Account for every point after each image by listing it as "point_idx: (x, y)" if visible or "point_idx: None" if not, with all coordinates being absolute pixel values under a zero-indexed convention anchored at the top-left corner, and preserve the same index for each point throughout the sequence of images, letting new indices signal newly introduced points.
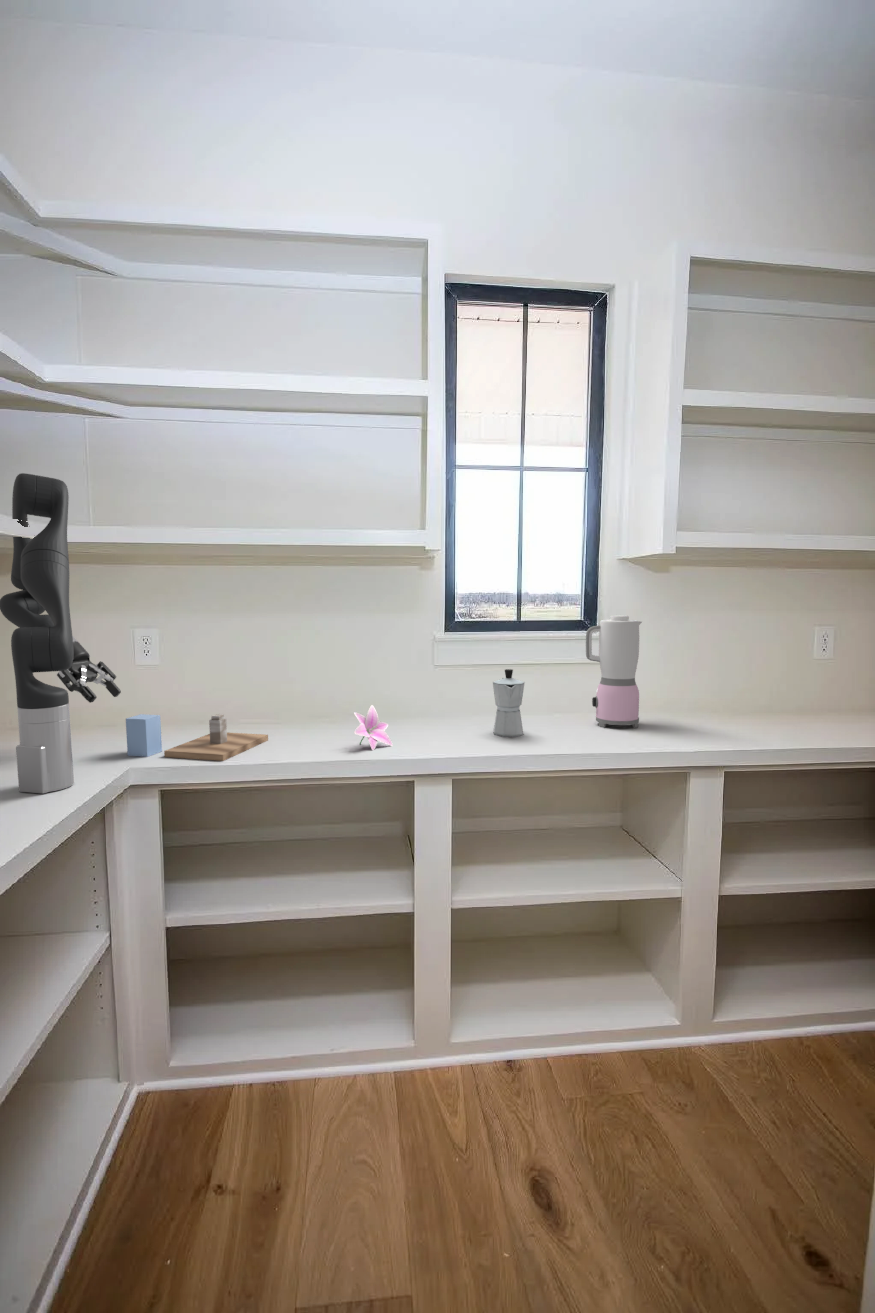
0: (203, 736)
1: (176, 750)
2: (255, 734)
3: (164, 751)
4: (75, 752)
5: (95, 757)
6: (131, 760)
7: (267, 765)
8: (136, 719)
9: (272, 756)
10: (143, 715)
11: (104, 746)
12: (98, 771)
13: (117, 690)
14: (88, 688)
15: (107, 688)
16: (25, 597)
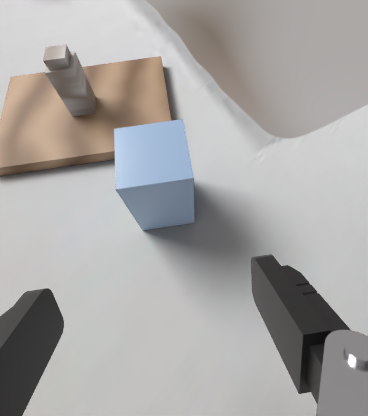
0: (39, 159)
1: None
2: (10, 93)
3: None
4: (227, 393)
5: (239, 280)
6: (221, 185)
7: (161, 19)
8: (187, 144)
9: (117, 35)
10: (132, 166)
11: (139, 369)
12: (308, 178)
13: (40, 299)
14: (299, 309)
15: (19, 409)
16: None
